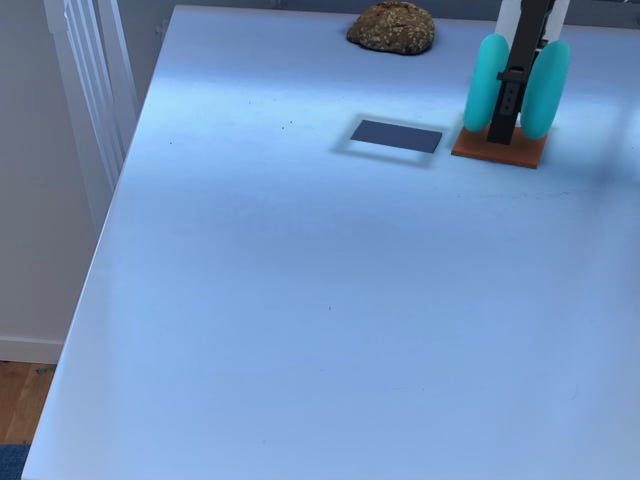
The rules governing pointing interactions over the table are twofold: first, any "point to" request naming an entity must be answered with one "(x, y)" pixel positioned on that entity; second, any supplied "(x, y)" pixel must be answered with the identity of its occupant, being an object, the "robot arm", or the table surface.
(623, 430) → the table surface
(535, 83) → the cyan capsule pair
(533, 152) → the terracotta mat
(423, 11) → the bread roll
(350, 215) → the table surface
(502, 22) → the mug
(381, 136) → the blue mat
